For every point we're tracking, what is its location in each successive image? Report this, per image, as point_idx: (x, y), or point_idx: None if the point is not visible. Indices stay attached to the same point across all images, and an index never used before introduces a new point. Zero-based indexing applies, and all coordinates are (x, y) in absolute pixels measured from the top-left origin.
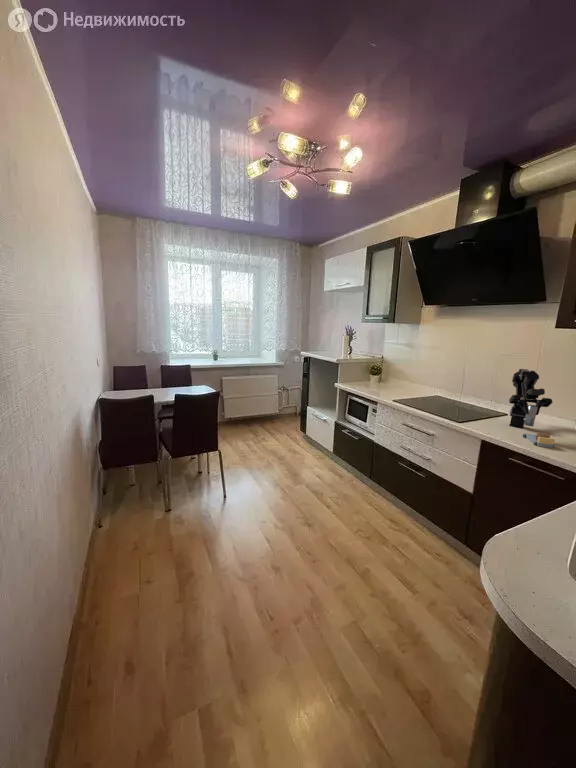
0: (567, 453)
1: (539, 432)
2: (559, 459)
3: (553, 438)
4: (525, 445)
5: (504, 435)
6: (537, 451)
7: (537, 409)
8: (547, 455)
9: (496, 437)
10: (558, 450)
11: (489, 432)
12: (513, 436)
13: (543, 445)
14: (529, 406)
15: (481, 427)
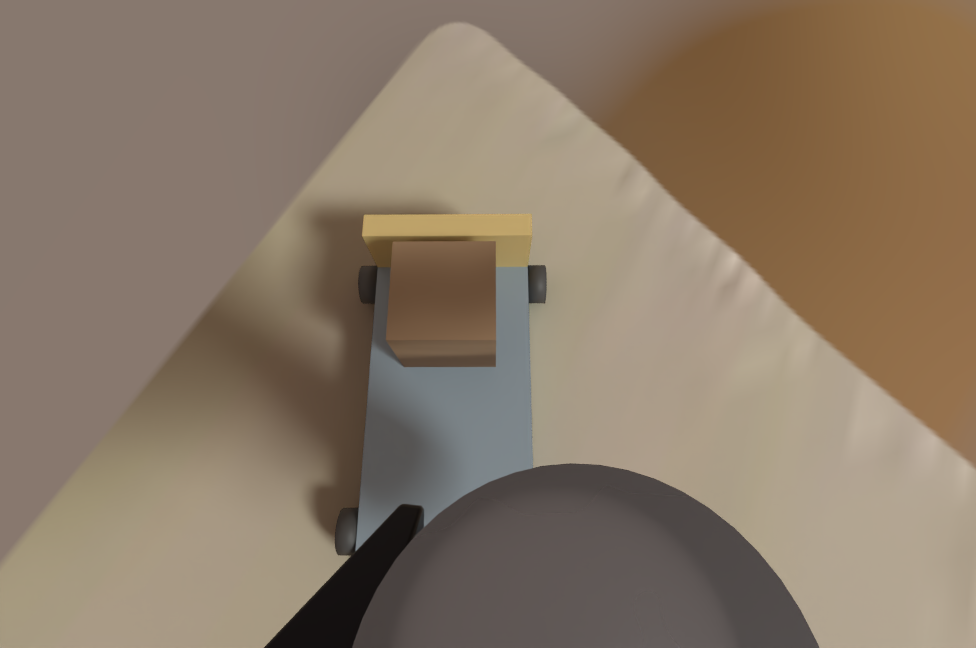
0: (328, 177)
1: (468, 332)
2: (489, 42)
3: (368, 231)
4: (637, 259)
5: (772, 535)
6: (588, 145)
7: None
8: (544, 88)
9: (887, 416)
10: None
11: (950, 604)
12: None
13: None
14: (790, 621)
15: None
